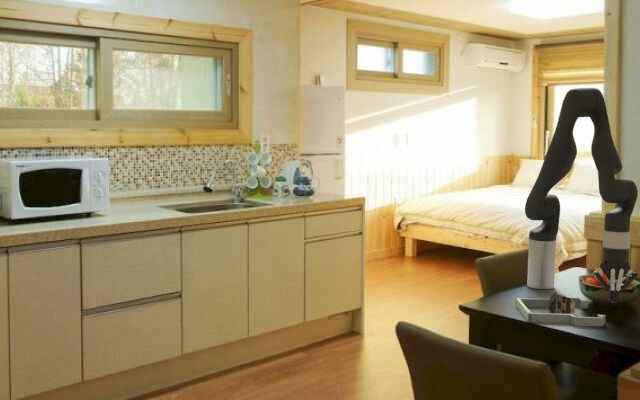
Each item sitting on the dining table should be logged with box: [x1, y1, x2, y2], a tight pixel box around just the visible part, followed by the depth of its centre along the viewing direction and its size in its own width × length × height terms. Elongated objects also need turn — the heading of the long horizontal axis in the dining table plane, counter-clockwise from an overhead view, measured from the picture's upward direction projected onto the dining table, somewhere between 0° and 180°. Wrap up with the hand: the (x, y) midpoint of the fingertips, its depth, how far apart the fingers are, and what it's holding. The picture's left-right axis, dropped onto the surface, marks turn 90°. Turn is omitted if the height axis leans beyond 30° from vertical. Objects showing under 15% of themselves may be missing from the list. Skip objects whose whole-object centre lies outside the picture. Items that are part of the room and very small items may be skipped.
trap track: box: [515, 297, 606, 327], centre depth 207 cm, size 23×22×2 cm
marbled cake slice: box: [546, 288, 576, 317], centre depth 208 cm, size 10×7×12 cm
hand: (613, 302), depth 205 cm, fingers closed
